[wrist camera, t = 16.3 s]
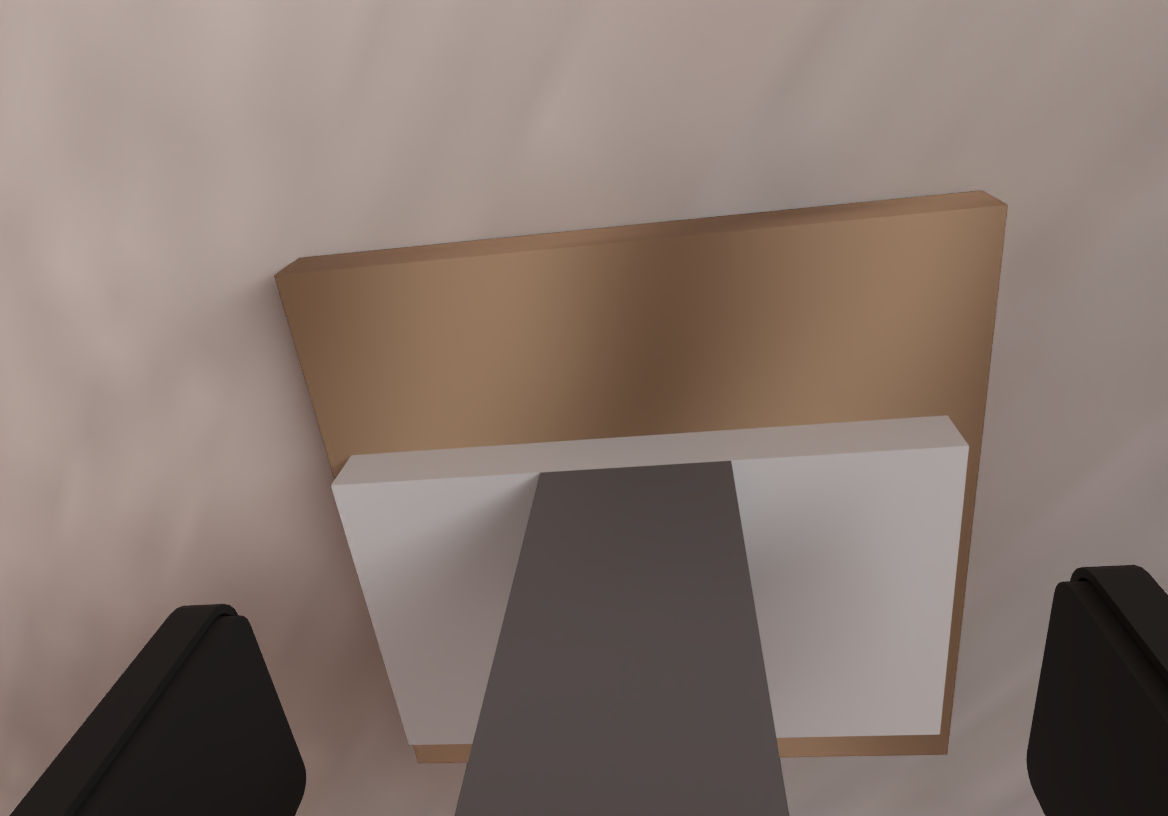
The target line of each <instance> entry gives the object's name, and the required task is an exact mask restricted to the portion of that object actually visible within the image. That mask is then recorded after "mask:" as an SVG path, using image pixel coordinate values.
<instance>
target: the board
mask: <svg viewBox="0 0 1168 816" xmlns="http://www.w3.org/2000/svg"><path fill="white" fill-rule="evenodd" d="M1007 208H1008V205H1007V204H1005V203H1003V202H1002V201H1000V200H998V199H996V198H995V197H993V196H991V195H989V194H988V193H986V192H984V191H972V192H962V193H951V194H941V195H931V196H921V197H911V198H901V199H891V200H881V201H870V202H860V203H850V204H840V205H830V206H820V207H810V208H799V209H789V210H779V211H769V212H759V213H749V214H739V215H729V216H718V217H708V218H698V219H688V220H678V221H668V222H658V223H647V224H637V225H627V226H617V227H607V228H597V229H587V230H577V231H566V232H556V233H546V234H536V235H526V236H516V237H506V238H496V239H485V240H475V241H465V242H455V243H445V244H435V245H425V246H414V247H404V248H394V249H384V250H374V251H364V252H354V253H344V254H333V255H323V256H313V257H303V258H298V259H297V260H296V261H294V262H293V263H291V264H290V265H288V266H287V267H286V268H284V269H283V270H281V271H280V272H279V273H277V274H276V275H274V276H275V280H276V283H277V286H278V290H279V293H280V296H281V300H282V303H283V307H284V310H285V313H286V317H287V320H288V324H289V327H290V330H291V334H292V337H293V340H294V344H295V347H296V351H297V354H298V357H299V361H300V364H301V368H302V371H303V374H304V378H305V381H306V384H307V388H308V391H309V395H310V398H311V401H312V405H313V408H314V412H315V415H316V418H317V422H318V425H319V428H320V432H321V435H322V439H323V442H324V445H325V449H326V452H327V455H328V459H329V462H330V466H331V469H332V472H333V476H334V479H336V477H337V476H338V474H339V473H340V471H341V470H342V468H343V467H344V465H345V464H346V462H347V461H348V459H349V458H350V456H351V455H363V454H378V453H393V452H408V451H423V450H438V449H453V448H467V447H482V446H497V445H512V444H527V443H542V442H557V441H572V440H587V439H602V438H617V437H632V436H647V435H661V434H676V433H691V432H706V431H721V430H736V429H751V428H766V427H781V426H796V425H811V424H826V423H841V422H855V421H870V420H885V419H900V418H915V417H930V416H945V415H948V417H949V418H950V420H951V421H952V422H953V424H954V425H955V427H956V428H957V429H958V431H959V432H960V434H961V435H962V436H963V438H964V439H965V441H966V442H967V444H968V445H969V452H968V462H967V471H966V481H965V491H964V501H963V511H962V521H961V531H960V540H959V550H958V560H957V570H956V580H955V590H954V600H953V609H952V619H951V629H950V639H949V649H948V659H947V669H946V678H945V688H944V698H943V708H942V718H941V728H940V735H890V736H840V737H789V738H777V745H778V751H779V757H823V756H885V755H947V752H948V743H949V734H950V725H951V716H952V707H953V698H954V688H955V679H956V670H957V661H958V652H959V643H960V634H961V625H962V616H963V607H964V598H965V589H966V580H967V570H968V561H969V552H970V543H971V534H972V525H973V516H974V507H975V498H976V489H977V480H978V471H979V462H980V453H981V443H982V434H983V425H984V416H985V407H986V398H987V389H988V380H989V371H990V362H991V353H992V344H993V335H994V325H995V316H996V307H997V298H998V289H999V280H1000V271H1001V262H1002V253H1003V244H1004V235H1005V226H1006V217H1007ZM413 746H414V750H415V753H416V757H417V760H418V763H453V762H468V759H469V755H470V751H471V747H472V744H437V745H413Z"/></svg>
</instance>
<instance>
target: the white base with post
mask: <svg viewBox="0 0 1168 816" xmlns="http://www.w3.org/2000/svg"><path fill="white" fill-rule="evenodd" d="M968 452H969V445H968V444H967V442H966V441H965V439H964V438H963V436H962V435H961V434H960V432H959V431H958V429H957V428H956V427H955V425H954V424H953V422H952V421H951V420H950V418H949V417H948V415H945V416H930V417H915V418H900V419H885V420H870V421H855V422H841V423H826V424H811V425H796V426H781V427H766V428H751V429H736V430H721V431H706V432H691V433H676V434H661V435H647V436H632V437H617V438H602V439H587V440H572V441H557V442H542V443H527V444H512V445H497V446H482V447H467V448H453V449H438V450H423V451H408V452H393V453H378V454H363V455H351V456H350V458H349V459H348V461H347V462H346V464H345V465H344V467H343V468H342V470H341V471H340V473H339V474H338V476H337V477H336V479H335V480H334V482H333V483H332V484H331V488H332V491H333V495H334V498H335V501H336V505H337V508H338V511H339V515H340V518H341V521H342V525H343V528H344V531H345V535H346V538H347V541H348V545H349V548H350V551H351V555H352V558H353V561H354V565H355V568H356V571H357V575H358V578H359V581H360V585H361V588H362V591H363V594H364V598H365V601H366V604H367V608H368V611H369V614H370V618H371V621H372V624H373V628H374V631H375V634H376V638H377V641H378V644H379V648H380V651H381V654H382V658H383V661H384V664H385V668H386V671H387V674H388V678H389V681H390V684H391V688H392V691H393V694H394V698H395V701H396V704H397V708H398V711H399V714H400V718H401V721H402V724H403V728H404V731H405V734H406V738H407V741H408V744H409V745H437V744H472V747H471V751H470V755H469V759H468V763H467V767H466V771H465V776H464V780H463V784H462V788H461V792H460V796H459V800H458V804H457V808H456V812H455V816H789V812H788V806H787V800H786V794H785V787H784V781H783V775H782V769H781V763H780V757H779V751H778V745H777V738H789V737H840V736H890V735H940V728H941V718H942V708H943V698H944V688H945V678H946V669H947V659H948V649H949V639H950V629H951V619H952V609H953V600H954V590H955V580H956V570H957V560H958V550H959V540H960V531H961V521H962V511H963V501H964V491H965V481H966V471H967V462H968Z"/></svg>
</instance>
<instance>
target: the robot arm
mask: <svg viewBox="0 0 1168 816" xmlns="http://www.w3.org/2000/svg"><path fill="white" fill-rule="evenodd" d="M1027 769H1028V775H1029V779H1030V782H1031V786H1032V788H1033V790H1034V793H1035V795H1036V797H1037V799H1038V801H1039V803H1040V805H1041V808H1042V810H1043V812H1044V814H1045V816H1168V595H1167V594H1166V593H1165V592H1164V590H1163V589H1162V588H1161V587H1160V586H1159V585H1158V583H1157V582H1156V581H1155V580H1154V579H1153V578H1152V577H1151V575H1150V574H1149V573H1148V572H1147V571H1145V570H1144V569H1143V568H1142V567H1139V566H1136V565H1124V566H1100V567H1081V568H1078V569H1076V570H1075V571H1074V573H1073V574H1072V577H1071V580H1070V582H1060V583H1059V584H1058V585H1057V586H1056V589H1055V592H1054V598H1053V604H1052V610H1051V615H1050V621H1049V627H1048V633H1047V639H1046V645H1045V650H1044V656H1043V662H1042V668H1041V674H1040V680H1039V686H1038V691H1037V697H1036V703H1035V709H1034V715H1033V721H1032V727H1031V732H1030V738H1029V744H1028V750H1027ZM305 786H306V770H305V766H304V763H303V760H302V758H301V755H300V752H299V750H298V747H297V745H296V742H295V739H294V737H293V734H292V732H291V729H290V726H289V724H288V721H287V719H286V716H285V713H284V711H283V708H282V706H281V703H280V700H279V698H278V695H277V693H276V690H275V687H274V685H273V682H272V680H271V677H270V674H269V672H268V669H267V666H266V664H265V661H264V659H263V656H262V653H261V651H260V648H259V646H258V643H257V640H256V638H255V635H254V633H253V630H252V627H251V625H250V623H249V621H248V619H247V618H245V617H244V616H238V614H237V612H236V611H235V609H234V608H233V607H231V606H230V605H226V604H215V605H191V606H182V607H179V608H177V609H175V610H174V611H173V612H172V613H171V614H170V615H169V617H168V618H167V619H166V620H165V622H164V623H163V624H162V625H161V627H160V628H159V629H158V630H157V632H156V633H155V634H154V635H153V637H152V638H151V639H150V640H149V642H148V643H147V644H146V645H145V647H144V648H143V649H142V650H141V652H140V653H139V654H138V655H137V657H136V658H135V659H134V660H133V662H132V663H131V664H130V665H129V667H128V668H127V669H126V670H125V672H124V673H123V674H122V675H121V677H120V678H119V679H118V680H117V682H116V683H115V684H114V686H113V687H112V688H111V689H110V691H109V692H108V693H107V694H106V696H105V697H104V698H103V699H102V701H101V702H100V703H99V704H98V706H97V707H96V708H95V709H94V711H93V712H92V713H91V714H90V716H89V717H88V718H87V719H86V721H85V722H84V723H83V724H82V726H81V727H80V728H79V729H78V731H77V732H76V733H75V734H74V736H73V737H72V738H71V739H70V741H69V742H68V743H67V744H66V746H65V747H64V748H63V749H62V751H61V752H60V753H59V754H58V756H57V757H56V758H55V759H54V761H53V762H52V763H51V764H50V766H49V767H48V768H47V769H46V771H45V772H44V773H43V774H42V776H41V777H40V778H39V779H38V781H37V782H36V783H35V784H34V786H33V787H32V788H31V790H30V791H29V792H28V793H27V795H26V796H25V797H24V798H23V800H22V801H21V802H20V803H19V805H18V806H17V807H16V808H15V810H14V811H13V812H12V813H11V815H10V816H295V814H296V812H297V809H298V807H299V805H300V803H301V800H302V797H303V795H304V790H305Z"/></svg>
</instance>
